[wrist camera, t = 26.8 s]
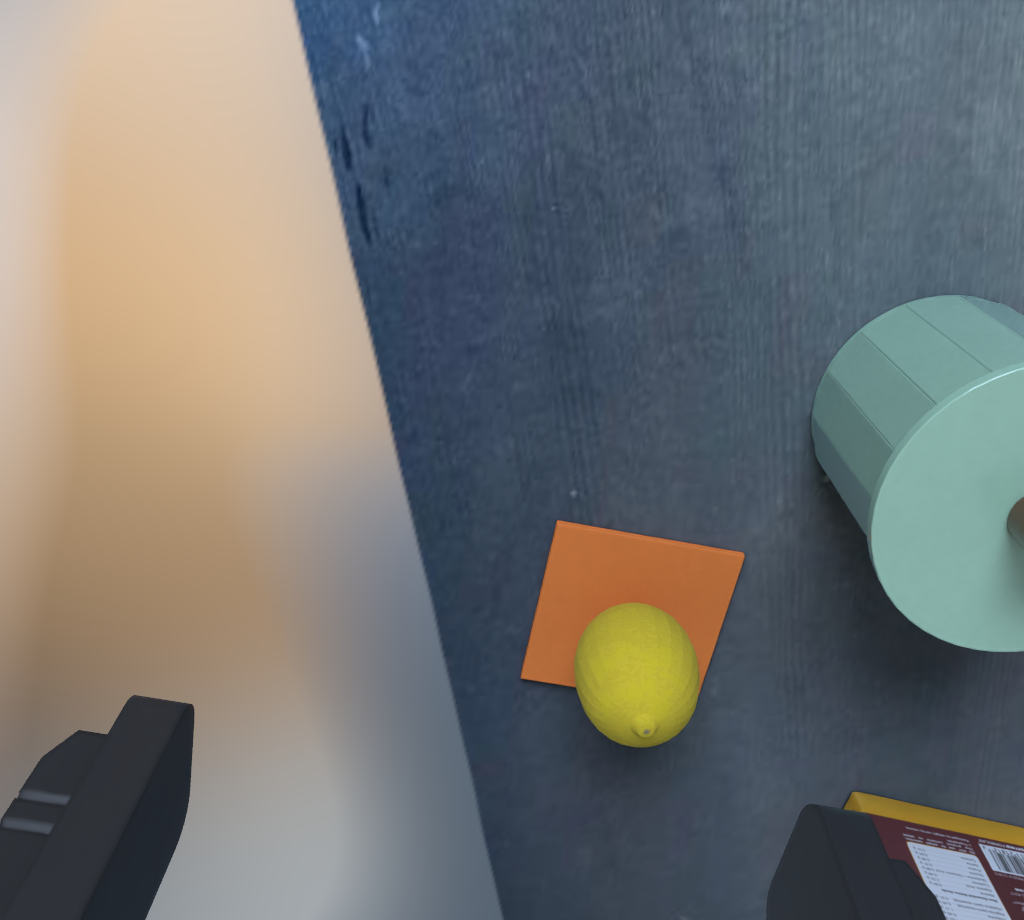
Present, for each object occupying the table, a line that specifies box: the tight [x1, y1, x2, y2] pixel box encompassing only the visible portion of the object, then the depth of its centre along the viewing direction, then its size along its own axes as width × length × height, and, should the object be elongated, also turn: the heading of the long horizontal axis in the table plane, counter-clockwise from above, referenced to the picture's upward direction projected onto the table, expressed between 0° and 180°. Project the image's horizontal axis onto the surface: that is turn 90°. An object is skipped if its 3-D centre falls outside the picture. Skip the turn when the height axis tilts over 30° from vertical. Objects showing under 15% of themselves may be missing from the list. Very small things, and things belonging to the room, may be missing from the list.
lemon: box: [574, 603, 700, 747], centre depth 43 cm, size 6×6×8 cm
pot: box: [811, 295, 1024, 538], centre depth 38 cm, size 10×10×9 cm
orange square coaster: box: [521, 520, 745, 695], centre depth 47 cm, size 9×9×1 cm
